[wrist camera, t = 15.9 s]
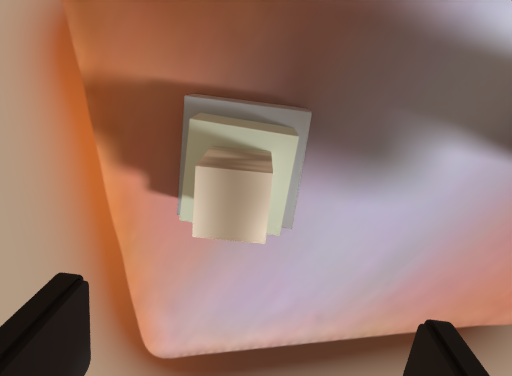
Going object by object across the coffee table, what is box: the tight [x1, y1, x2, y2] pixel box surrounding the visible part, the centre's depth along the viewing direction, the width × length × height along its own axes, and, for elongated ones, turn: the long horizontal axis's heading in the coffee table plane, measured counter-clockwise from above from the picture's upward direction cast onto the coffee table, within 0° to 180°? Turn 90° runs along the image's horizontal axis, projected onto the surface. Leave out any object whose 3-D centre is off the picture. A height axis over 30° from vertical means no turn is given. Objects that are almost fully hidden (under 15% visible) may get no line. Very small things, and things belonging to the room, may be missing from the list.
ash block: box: [192, 146, 273, 244], centre depth 27 cm, size 5×5×7 cm
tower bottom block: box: [177, 94, 312, 229], centre depth 38 cm, size 12×12×5 cm
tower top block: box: [179, 113, 299, 236], centre depth 33 cm, size 9×9×5 cm
